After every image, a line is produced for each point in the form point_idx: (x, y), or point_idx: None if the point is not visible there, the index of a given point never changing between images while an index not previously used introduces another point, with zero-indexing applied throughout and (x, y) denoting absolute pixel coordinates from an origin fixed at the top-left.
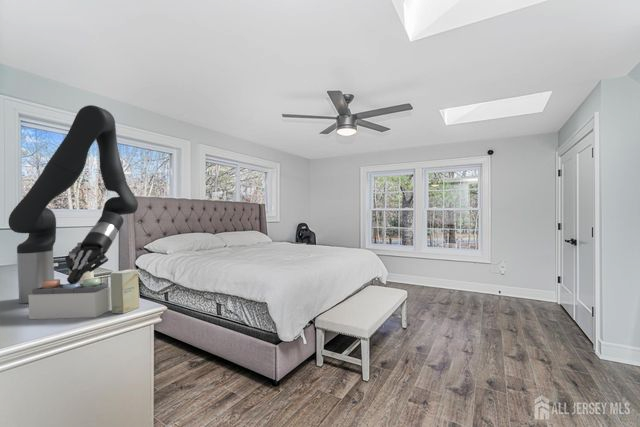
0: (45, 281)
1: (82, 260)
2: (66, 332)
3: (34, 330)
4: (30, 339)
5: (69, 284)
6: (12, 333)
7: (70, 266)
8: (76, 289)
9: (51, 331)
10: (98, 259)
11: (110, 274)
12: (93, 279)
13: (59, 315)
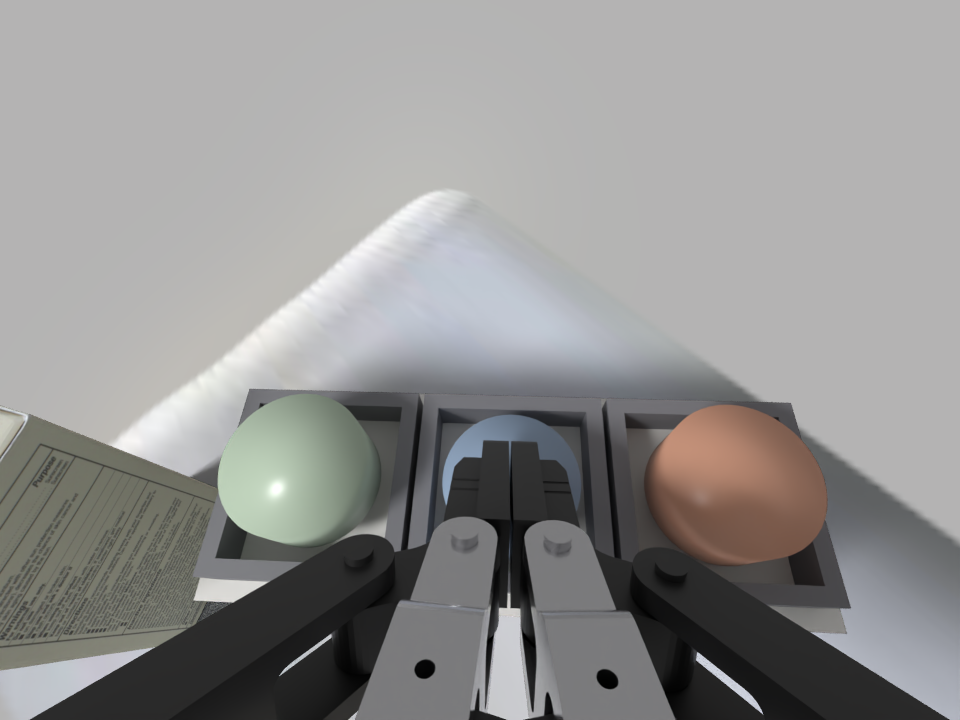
0: (781, 452)
1: (470, 633)
2: (345, 280)
3: (507, 310)
4: (439, 237)
5: None
6: (576, 290)
7: (656, 569)
8: (398, 396)
9: (418, 294)
10: (115, 684)
11: (42, 419)
12: (271, 463)
13: None
